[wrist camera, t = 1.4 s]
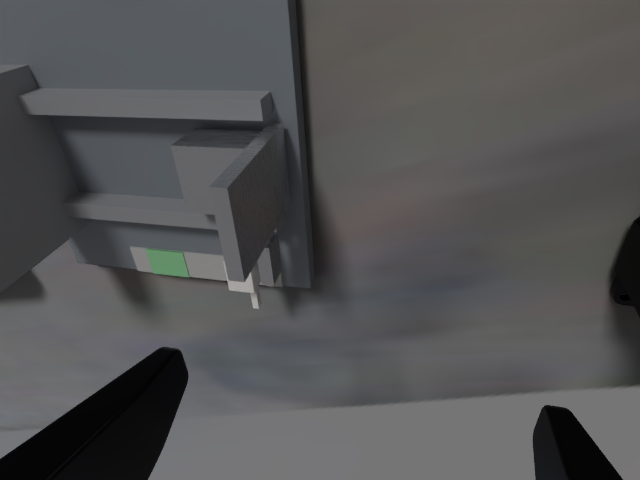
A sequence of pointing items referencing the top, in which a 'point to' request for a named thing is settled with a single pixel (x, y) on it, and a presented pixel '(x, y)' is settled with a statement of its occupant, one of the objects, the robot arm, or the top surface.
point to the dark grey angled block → (238, 192)
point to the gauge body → (139, 128)
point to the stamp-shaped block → (248, 285)
